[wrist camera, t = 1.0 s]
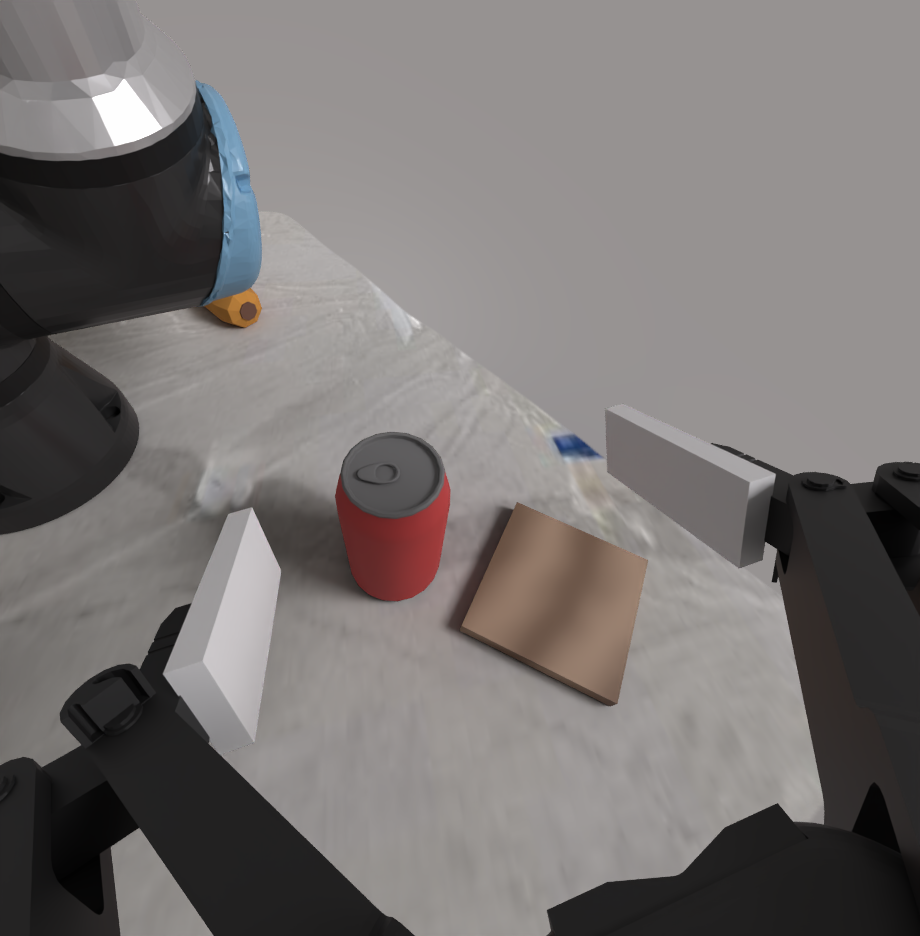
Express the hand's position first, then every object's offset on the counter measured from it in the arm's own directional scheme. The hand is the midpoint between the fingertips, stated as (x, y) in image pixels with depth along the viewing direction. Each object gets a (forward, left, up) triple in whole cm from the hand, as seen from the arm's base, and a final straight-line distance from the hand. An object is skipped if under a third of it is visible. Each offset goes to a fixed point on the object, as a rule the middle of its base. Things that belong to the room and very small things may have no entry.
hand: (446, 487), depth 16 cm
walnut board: (+8, +6, -18) cm, 21 cm away
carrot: (-40, +22, -19) cm, 49 cm away
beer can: (-4, +3, -18) cm, 19 cm away
